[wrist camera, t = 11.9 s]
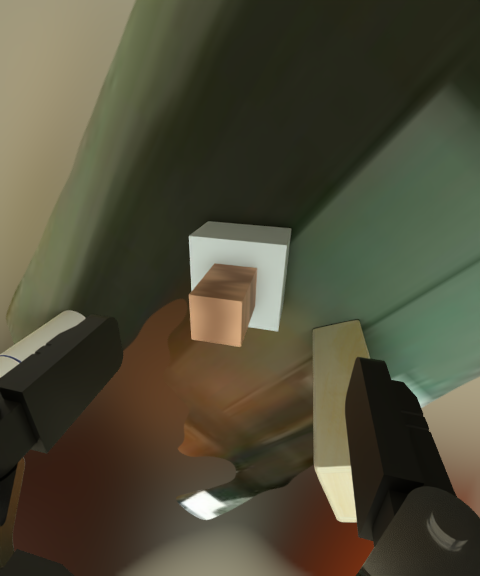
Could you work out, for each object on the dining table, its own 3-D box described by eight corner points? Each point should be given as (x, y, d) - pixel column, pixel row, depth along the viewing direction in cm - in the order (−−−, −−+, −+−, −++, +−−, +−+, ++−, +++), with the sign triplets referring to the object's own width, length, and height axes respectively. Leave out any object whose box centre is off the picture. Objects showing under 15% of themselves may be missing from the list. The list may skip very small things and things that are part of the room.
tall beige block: (377, 362, 43) (424, 525, 25) (327, 370, 46) (335, 523, 28) (365, 317, 41) (406, 461, 22) (312, 328, 43) (310, 466, 25)
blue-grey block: (291, 228, 38) (287, 245, 32) (283, 304, 43) (277, 331, 36) (208, 221, 40) (188, 235, 34) (209, 294, 45) (193, 318, 39)
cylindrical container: (68, 303, 52) (-112, 421, 30) (100, 330, 53) (-51, 463, 31) (52, 324, 55) (-121, 445, 33) (83, 350, 56) (-65, 483, 34)
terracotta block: (257, 268, 33) (242, 301, 26) (255, 306, 36) (240, 347, 29) (214, 263, 34) (188, 294, 27) (215, 301, 37) (191, 339, 30)
